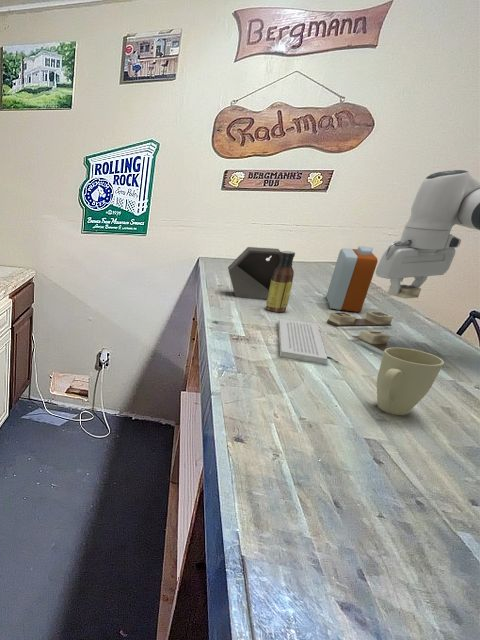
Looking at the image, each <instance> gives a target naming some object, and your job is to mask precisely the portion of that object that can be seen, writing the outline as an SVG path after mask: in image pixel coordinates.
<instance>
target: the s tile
mask: <svg viewBox="0 0 480 640" xmlns="http://www.w3.org/2000/svg"><path fill="white" fill-rule="evenodd" d="M409 285H410V284H404V283H401V284H400V287H401V288H402V291H401V293H400V294H391V293H390V290H391V284H390V285H389V288H388V289H387V290H388V291H387V293H386V294H387V295H390V296H393V297H397V298H400V299H404V300H405V299H416V298H419V297H420V294H421V291H422V288H421V287H420V288H417V287H413V286H409Z"/></svg>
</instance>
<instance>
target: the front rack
mask: <svg viewBox="0 0 480 640" xmlns="http://www.w3.org/2000/svg"><path fill="white" fill-rule="evenodd" d="M351 337H353V338H354V339H357V340H358V341H360V342H363V343H365V344H368V345H370V346H371V347H374V348H376V349H378V350H380V351H381V352H384V351H385V349H387V348H399V347H398V346H396V345H394V344H391V343H390V342H389V340H390V337H391V335H390V334H388V333H385V332H383V331H380V330H378V329H361V330H360V332H359V335H352V336H351Z"/></svg>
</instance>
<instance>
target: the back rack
mask: <svg viewBox="0 0 480 640" xmlns="http://www.w3.org/2000/svg"><path fill="white" fill-rule="evenodd" d="M393 318H394V316H393V315H390V314H388V313H385V312H382V311H367V312H366V314H365V318H357V316H354V315H352V314H350V313H347V312H346V311H345V312H330V314H329V317H328V319H327V320H326V323H328V324H330V325H332V326H334V327H337V328H341V327H343V328H345V327H349V328H350V327H353V328H354V327H391V326H392V321H393Z"/></svg>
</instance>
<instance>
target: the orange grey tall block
mask: <svg viewBox="0 0 480 640" xmlns="http://www.w3.org/2000/svg"><path fill="white" fill-rule="evenodd" d="M373 250H374V247H372V246H360V245H359V246H358V247H357V248H347V247H343V248H341V249H340V250H339V252H338V256H337V259H336V262H335V265H334V269H333V272H332V275H331V279H330V281H329V286H328V289H327V292H326V299H327V302H328V306H329V309H331V310H339V311H345V312H353V313H360V312H361V311H362V310H363V307H364V303H365V301H366V297H367V294H368V292H369V288H370V286H371V283H372V279H373V277H374V274H375V272H376V269H377V266H378V263H379V262H378V258H377V256H376V255H375V254H374V253H373Z"/></svg>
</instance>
